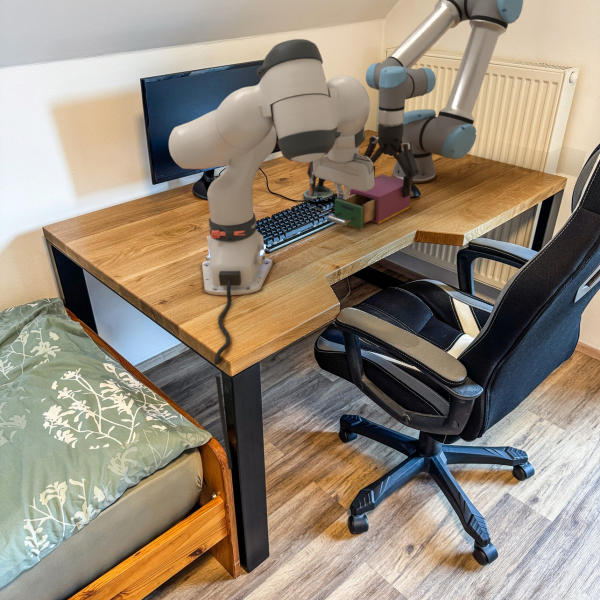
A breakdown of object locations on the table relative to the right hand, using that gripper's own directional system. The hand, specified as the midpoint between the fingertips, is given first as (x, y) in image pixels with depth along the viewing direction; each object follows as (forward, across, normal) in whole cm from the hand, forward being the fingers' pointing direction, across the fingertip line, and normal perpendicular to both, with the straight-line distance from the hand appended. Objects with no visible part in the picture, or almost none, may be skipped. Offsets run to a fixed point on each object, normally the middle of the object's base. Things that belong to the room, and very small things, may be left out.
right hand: (388, 191), depth 178 cm
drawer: (+4, 0, +15) cm, 16 cm away
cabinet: (+5, 0, +4) cm, 7 cm away
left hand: (-5, 0, +22) cm, 22 cm away
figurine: (+5, +23, +8) cm, 25 cm away
